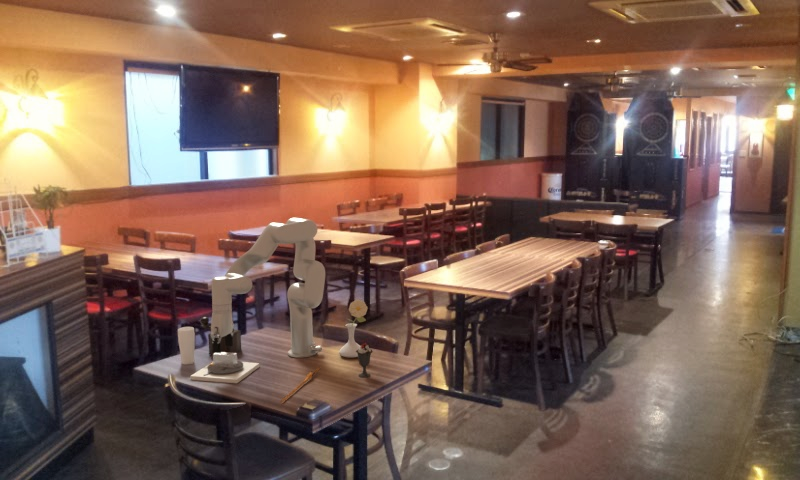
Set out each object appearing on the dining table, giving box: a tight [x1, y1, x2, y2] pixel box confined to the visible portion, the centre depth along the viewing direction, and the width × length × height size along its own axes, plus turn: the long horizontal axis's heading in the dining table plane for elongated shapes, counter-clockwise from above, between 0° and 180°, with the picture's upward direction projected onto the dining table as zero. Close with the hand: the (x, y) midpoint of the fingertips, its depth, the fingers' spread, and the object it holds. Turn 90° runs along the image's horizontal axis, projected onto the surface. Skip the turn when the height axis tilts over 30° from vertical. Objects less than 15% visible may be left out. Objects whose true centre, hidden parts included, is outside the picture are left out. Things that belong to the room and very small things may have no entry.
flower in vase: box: [338, 299, 369, 359], centre depth 296 cm, size 13×11×25 cm
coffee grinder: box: [199, 316, 242, 356], centre depth 300 cm, size 16×11×18 cm
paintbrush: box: [280, 366, 321, 404], centre depth 261 cm, size 1×35×3 cm, turn 164°
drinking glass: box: [177, 326, 196, 366], centre depth 289 cm, size 7×7×15 cm
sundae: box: [356, 339, 373, 378], centre depth 271 cm, size 7×7×15 cm
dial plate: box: [190, 361, 260, 384], centre depth 277 cm, size 20×20×2 cm
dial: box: [208, 352, 243, 374], centre depth 277 cm, size 14×14×6 cm
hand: (223, 349), depth 275 cm, fingers open, 9 cm apart
